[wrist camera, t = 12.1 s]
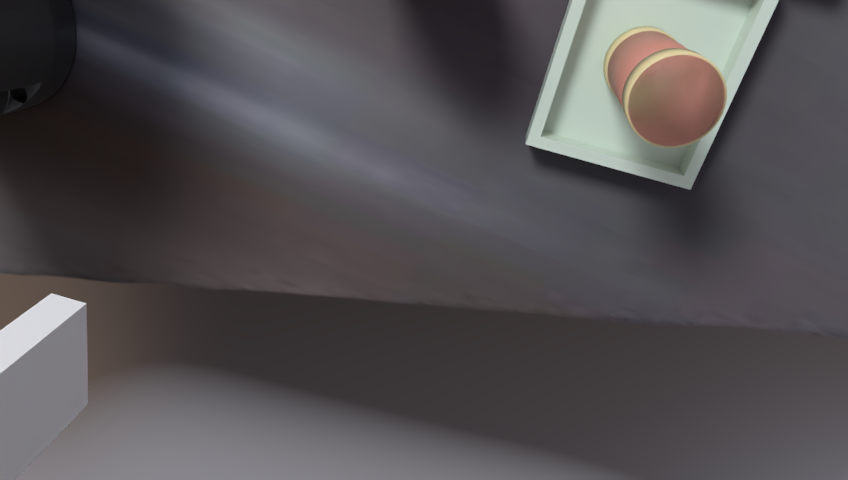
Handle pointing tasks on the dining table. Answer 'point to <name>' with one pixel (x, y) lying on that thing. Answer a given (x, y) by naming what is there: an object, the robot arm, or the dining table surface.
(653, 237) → the dining table surface
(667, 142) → the fuse
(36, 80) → the robot arm
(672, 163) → the parts tray
